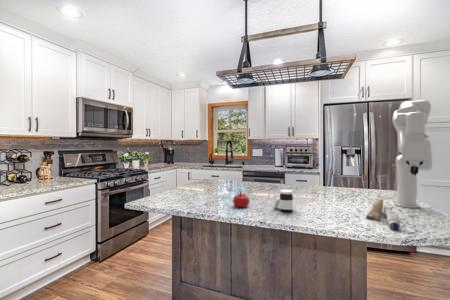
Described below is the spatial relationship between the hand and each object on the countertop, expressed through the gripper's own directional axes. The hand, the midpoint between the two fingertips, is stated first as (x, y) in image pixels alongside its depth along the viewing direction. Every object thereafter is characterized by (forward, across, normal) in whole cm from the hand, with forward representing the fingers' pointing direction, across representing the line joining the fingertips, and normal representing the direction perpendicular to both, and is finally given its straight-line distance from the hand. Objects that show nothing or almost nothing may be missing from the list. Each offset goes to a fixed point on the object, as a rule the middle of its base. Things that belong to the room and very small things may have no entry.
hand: (414, 174), depth 119 cm
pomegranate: (+22, +84, +32) cm, 92 cm away
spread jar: (+23, +60, +23) cm, 68 cm away
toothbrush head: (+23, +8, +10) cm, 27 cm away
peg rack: (+23, +16, +4) cm, 28 cm away
